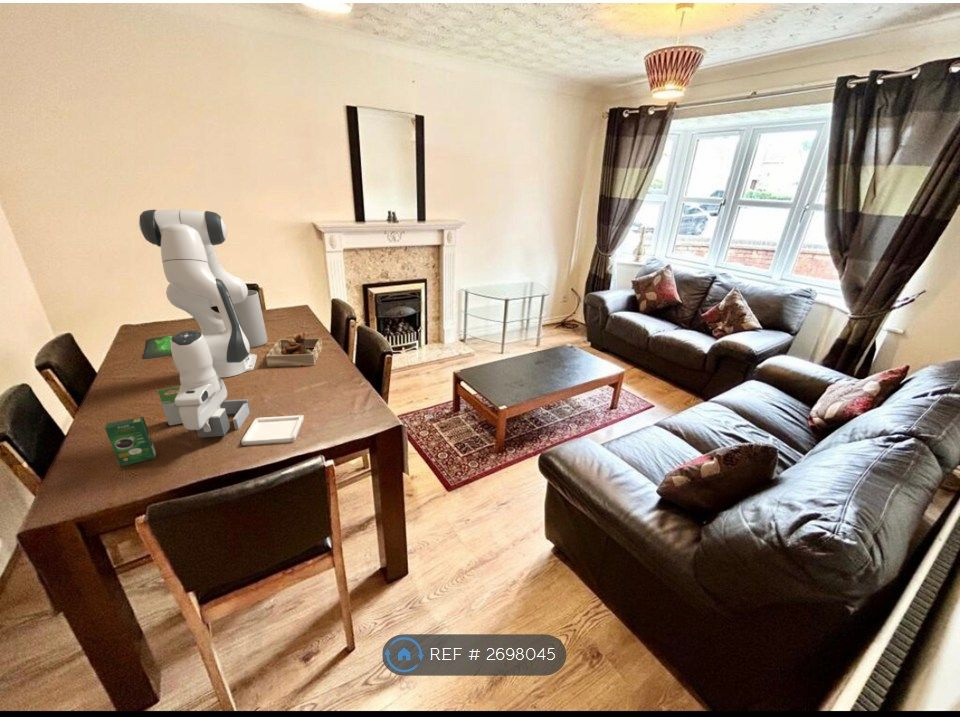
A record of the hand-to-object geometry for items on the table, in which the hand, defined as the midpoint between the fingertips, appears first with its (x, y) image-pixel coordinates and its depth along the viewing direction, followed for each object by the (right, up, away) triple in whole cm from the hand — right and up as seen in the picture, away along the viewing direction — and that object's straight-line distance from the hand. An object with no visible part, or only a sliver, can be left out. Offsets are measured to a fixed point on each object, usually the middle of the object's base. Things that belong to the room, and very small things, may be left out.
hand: (212, 425), depth 119 cm
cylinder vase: (-28, +28, +69) cm, 80 cm away
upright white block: (0, -2, +1) cm, 3 cm away
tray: (+16, -3, +6) cm, 17 cm away
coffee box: (-14, -9, -9) cm, 19 cm away
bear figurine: (-1, +21, +56) cm, 60 cm away
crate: (-2, +22, +58) cm, 62 cm away
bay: (-2, 0, +10) cm, 10 cm away
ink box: (-16, 0, +9) cm, 18 cm away
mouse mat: (-63, +27, +64) cm, 94 cm away
